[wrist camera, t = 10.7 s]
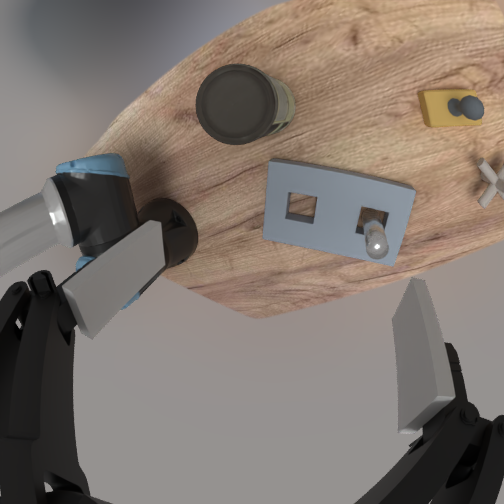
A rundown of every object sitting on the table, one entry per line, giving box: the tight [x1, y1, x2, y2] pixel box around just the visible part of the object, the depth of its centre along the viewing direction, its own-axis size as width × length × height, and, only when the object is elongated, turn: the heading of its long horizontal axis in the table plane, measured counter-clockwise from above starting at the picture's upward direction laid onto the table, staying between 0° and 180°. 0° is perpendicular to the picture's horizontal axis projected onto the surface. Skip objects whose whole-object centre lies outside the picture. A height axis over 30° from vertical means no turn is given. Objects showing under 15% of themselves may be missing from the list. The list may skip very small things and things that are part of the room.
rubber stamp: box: [418, 89, 484, 127], centre depth 25 cm, size 10×6×12 cm, turn 108°
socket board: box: [263, 158, 416, 266], centre depth 44 cm, size 24×14×3 cm, turn 87°
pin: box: [362, 208, 389, 260], centre depth 39 cm, size 3×3×12 cm
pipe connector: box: [477, 158, 504, 209], centre depth 28 cm, size 10×10×10 cm
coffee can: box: [196, 64, 295, 145], centre depth 34 cm, size 10×10×14 cm
